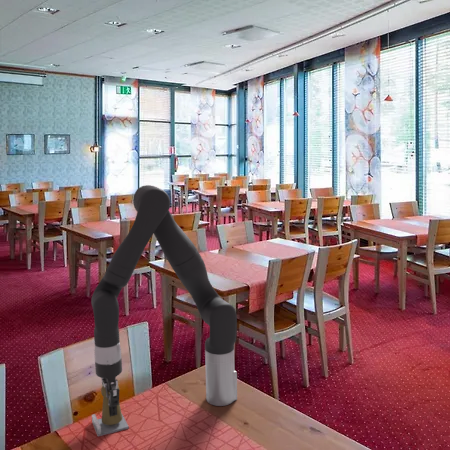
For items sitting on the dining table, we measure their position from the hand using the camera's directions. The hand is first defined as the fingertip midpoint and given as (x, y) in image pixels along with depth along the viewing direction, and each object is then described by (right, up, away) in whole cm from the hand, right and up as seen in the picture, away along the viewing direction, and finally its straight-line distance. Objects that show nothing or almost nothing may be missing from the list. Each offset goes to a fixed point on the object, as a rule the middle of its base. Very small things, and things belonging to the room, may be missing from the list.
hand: (111, 412), depth 148 cm
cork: (0, -2, 0) cm, 2 cm away
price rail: (-4, -4, -1) cm, 6 cm away
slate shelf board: (0, -4, +1) cm, 4 cm away
